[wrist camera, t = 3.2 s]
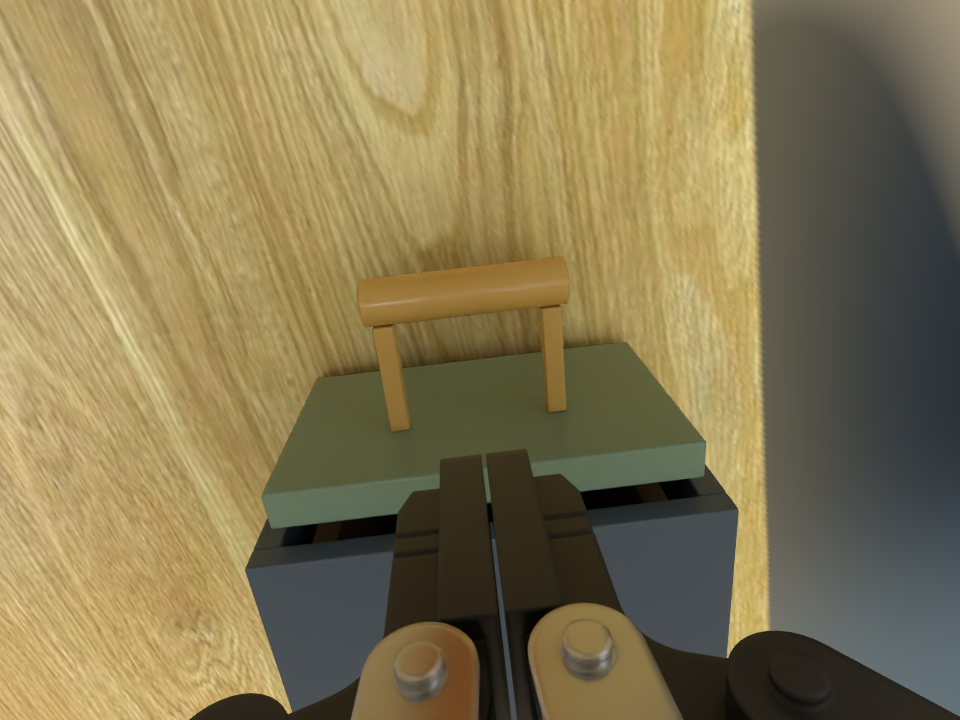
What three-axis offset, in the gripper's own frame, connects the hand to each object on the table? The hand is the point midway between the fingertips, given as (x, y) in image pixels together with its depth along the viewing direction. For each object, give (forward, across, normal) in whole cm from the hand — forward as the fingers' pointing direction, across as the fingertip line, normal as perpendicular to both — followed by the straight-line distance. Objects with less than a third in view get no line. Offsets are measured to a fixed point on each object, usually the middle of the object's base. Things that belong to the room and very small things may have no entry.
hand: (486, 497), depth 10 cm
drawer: (+13, 0, +7) cm, 15 cm away
